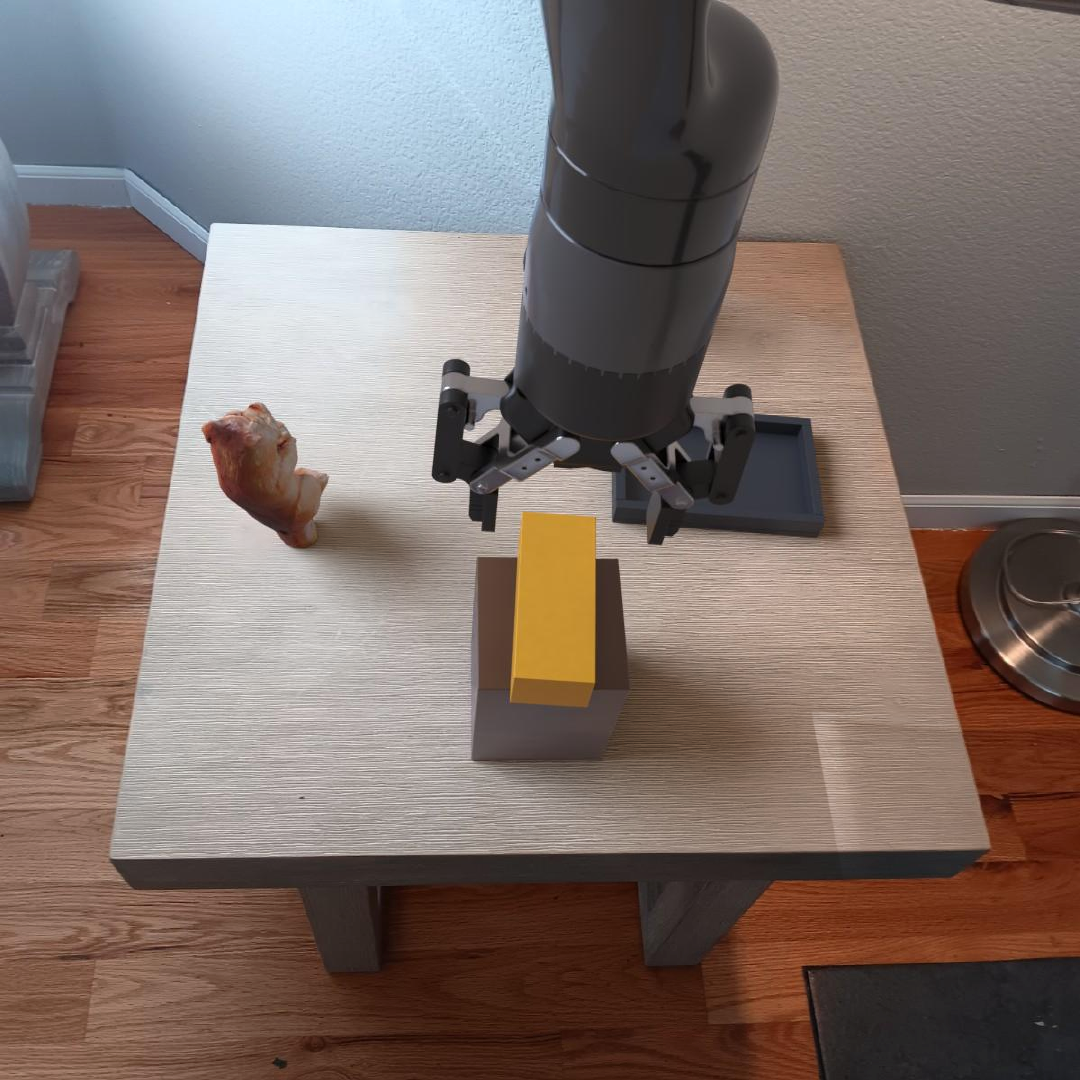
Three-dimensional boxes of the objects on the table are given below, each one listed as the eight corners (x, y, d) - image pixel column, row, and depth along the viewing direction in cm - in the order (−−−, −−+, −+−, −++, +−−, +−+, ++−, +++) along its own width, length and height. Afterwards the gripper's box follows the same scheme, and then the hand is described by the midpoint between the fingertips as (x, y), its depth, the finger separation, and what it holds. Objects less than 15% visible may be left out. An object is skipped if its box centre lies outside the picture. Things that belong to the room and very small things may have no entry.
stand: (593, 642, 74) (618, 558, 64) (602, 759, 69) (630, 689, 59) (471, 641, 73) (476, 556, 63) (471, 760, 69) (477, 689, 58)
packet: (587, 707, 58) (595, 683, 55) (509, 702, 58) (513, 677, 55) (588, 546, 64) (596, 516, 61) (518, 541, 64) (522, 510, 61)
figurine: (339, 499, 79) (321, 371, 66) (309, 582, 75) (283, 461, 62) (263, 483, 79) (229, 352, 66) (229, 565, 75) (186, 441, 62)
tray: (817, 537, 81) (825, 523, 79) (611, 522, 80) (615, 507, 78) (802, 433, 86) (810, 418, 85) (611, 417, 86) (615, 401, 84)
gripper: (424, 350, 36) (426, 577, 50) (816, 384, 37) (712, 597, 50) (442, 209, 40) (439, 454, 54) (795, 242, 41) (704, 475, 54)
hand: (571, 523), depth 52 cm, fingers open, 8 cm apart
